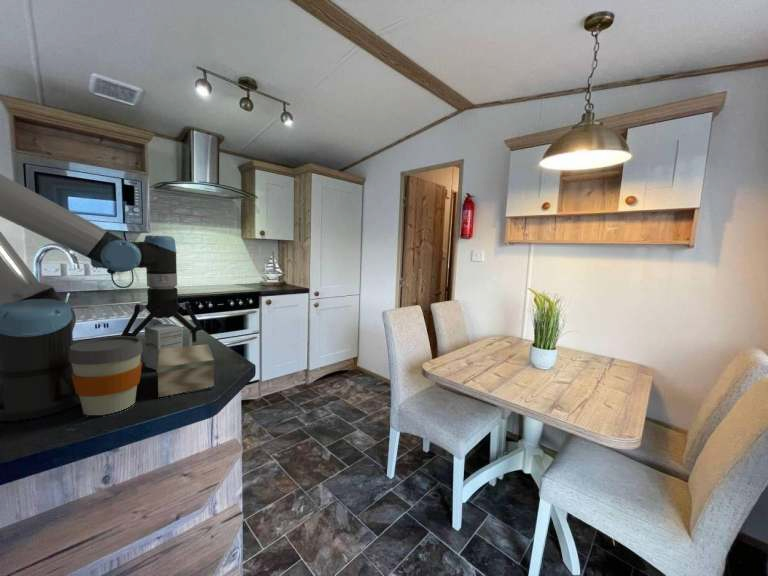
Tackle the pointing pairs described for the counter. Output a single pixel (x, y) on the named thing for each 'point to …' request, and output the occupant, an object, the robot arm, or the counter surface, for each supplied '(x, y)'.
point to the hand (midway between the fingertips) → (165, 355)
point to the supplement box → (161, 341)
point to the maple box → (184, 369)
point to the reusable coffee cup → (106, 373)
